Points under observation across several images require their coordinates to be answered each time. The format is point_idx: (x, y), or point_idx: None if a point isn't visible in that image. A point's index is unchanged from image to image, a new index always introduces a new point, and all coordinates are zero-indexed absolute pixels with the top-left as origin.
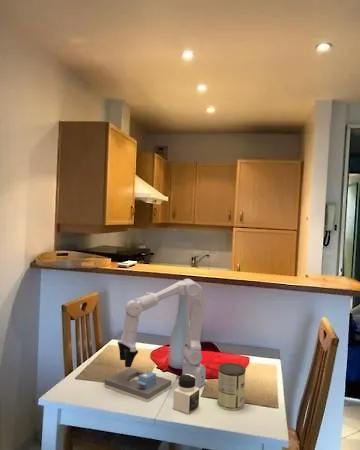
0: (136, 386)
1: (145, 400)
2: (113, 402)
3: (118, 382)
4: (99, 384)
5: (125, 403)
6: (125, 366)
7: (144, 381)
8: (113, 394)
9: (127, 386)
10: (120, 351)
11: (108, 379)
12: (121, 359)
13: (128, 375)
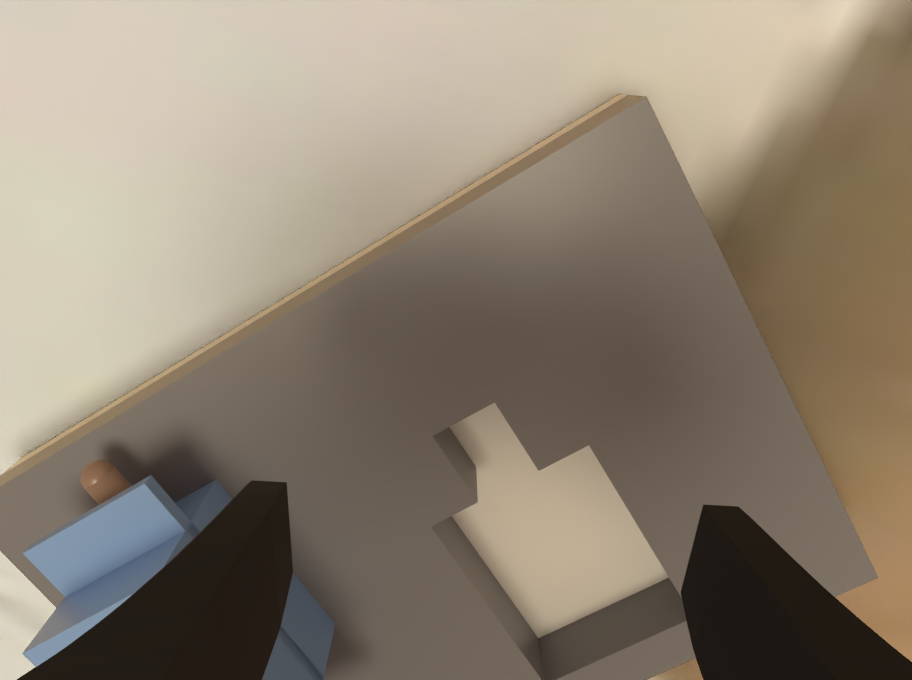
0: (230, 460)
1: (37, 448)
2: (92, 67)
3: (448, 274)
4: (733, 44)
5: (34, 211)
6: (256, 485)
7: (88, 590)
8: (333, 144)
9: (265, 351)
10: (815, 665)
11: (623, 159)
12: (704, 532)
13: (629, 481)
